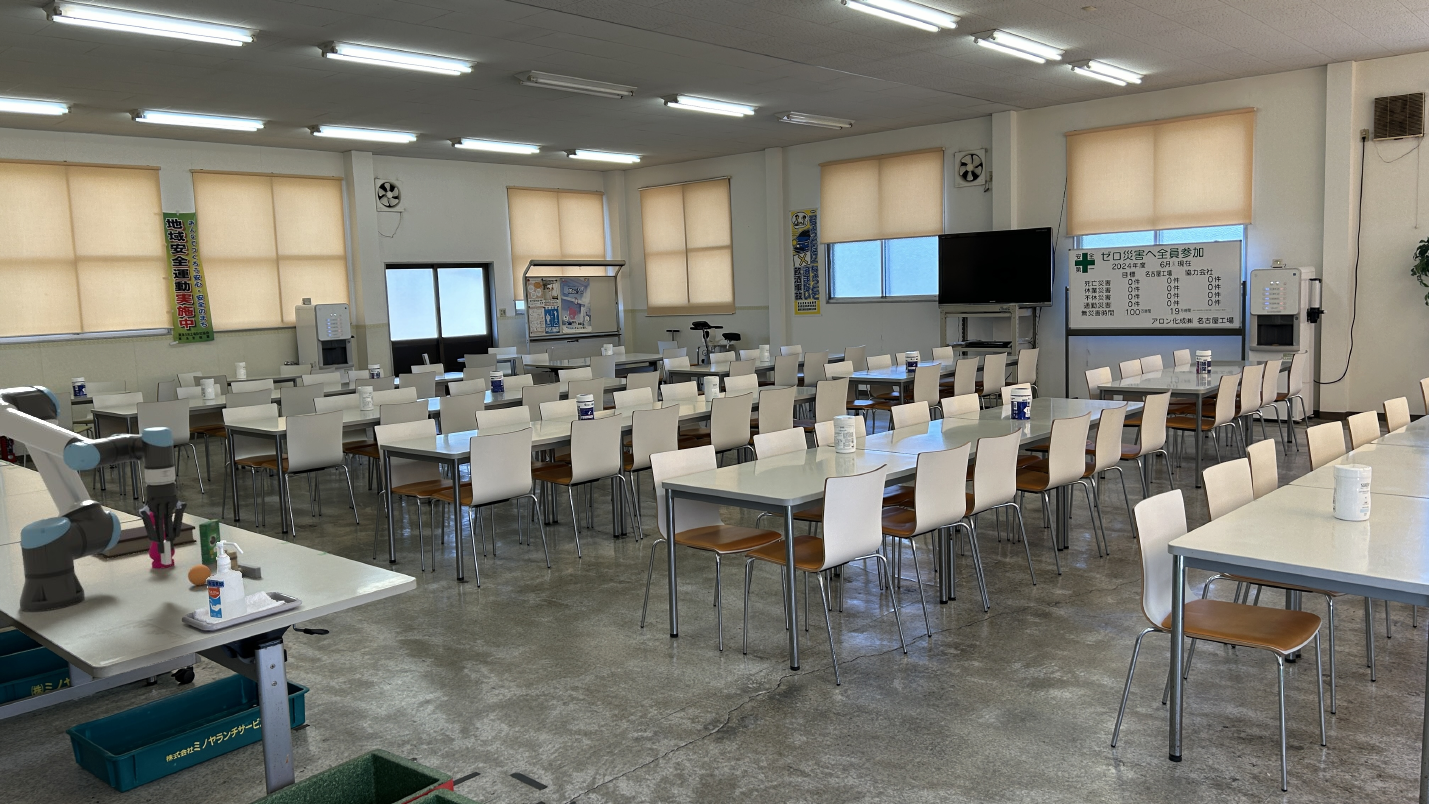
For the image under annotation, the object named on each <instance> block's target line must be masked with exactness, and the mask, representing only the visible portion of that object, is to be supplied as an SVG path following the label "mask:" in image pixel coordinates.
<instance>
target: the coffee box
mask: <svg viewBox="0 0 1429 804" xmlns="http://www.w3.org/2000/svg"><path fill="white" fill-rule="evenodd" d="M220 530H221V529H220V519H210V520H207V521H206V522H205V521H204V522H202V523H200V524H198V531H199V539H200V540H199V542H200V553H201V554H200V555H201V565H211V564H213V563H215V562H216V557H217V548H216V543H217V542H220V541H221V531H220Z"/></svg>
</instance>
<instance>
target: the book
mask: <svg viewBox="0 0 1429 804" xmlns="http://www.w3.org/2000/svg"><path fill="white" fill-rule="evenodd" d="M173 521H174V520H172V522H173ZM193 530H196V526H194V525H191V524H189V523H186V522H184V521H182V525H181V531H180V536H179V537H176V538H175V540H174V541H173V546H174V547H176V546H181V545H187V544H192V543H197V539H194V533H193ZM151 544H152V541H150V540H149V537H148V534H147V531H146V529H145V526H138V527H137V526H136V527H131V528H126V529H125V528H124V529H121V534H120V538H119V540H118V542H117V544H116V545H115V546H114V547H112V548H111V549H108V550H105V551H103V552H102V553H97V555H98V554H99V555H98V556H100V555H101V557H103V558H105V559H107V558H109V559H113V558H112V557H114V558H118V556H119V557H123V555H125V556H129V555H128V554H130V555H134V554H133V553H135V554H139V553H138V552H140V553H144V552H143V551H145V552H149V550H150V546H151Z"/></svg>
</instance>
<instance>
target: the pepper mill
mask: <svg viewBox="0 0 1429 804" xmlns="http://www.w3.org/2000/svg"><path fill="white" fill-rule="evenodd" d="M149 516H150V518H151V520H152V523H153V526H154V529H155V521H154V517H153V513H152V512H151V511H149ZM163 526H164V518H163ZM164 540H166V539H165V530H164ZM173 548H174V549H173V551H171V562H172V564H168V565H165V564H161V554H160V553H158V551H157V542H154V541H152V544H151V546H150V550H149V551H148V555H149V558H150V559H151V560H152V561H151V568H152V569H154V568H155V570H157V569H160V568H161V569H166V568H171V567H173V566H174V565H175V559H174V558H173V557H174V555H175V553H176V550H175V546H173Z"/></svg>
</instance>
